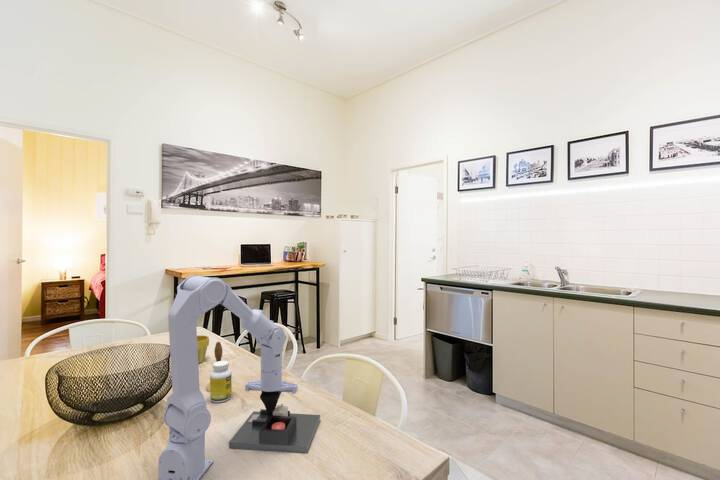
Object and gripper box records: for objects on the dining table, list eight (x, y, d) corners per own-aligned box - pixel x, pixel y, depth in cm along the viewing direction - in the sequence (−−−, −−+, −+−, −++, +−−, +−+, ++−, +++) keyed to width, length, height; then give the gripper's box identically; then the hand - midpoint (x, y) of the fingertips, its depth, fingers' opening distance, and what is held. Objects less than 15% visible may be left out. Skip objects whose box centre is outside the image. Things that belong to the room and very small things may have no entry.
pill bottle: (224, 404, 108) (223, 367, 108) (205, 402, 109) (205, 366, 109) (235, 395, 114) (235, 360, 114) (218, 393, 116) (218, 359, 116)
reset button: (282, 439, 87) (282, 429, 87) (269, 439, 87) (269, 429, 87) (286, 432, 90) (286, 422, 90) (274, 431, 90) (274, 421, 90)
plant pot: (184, 358, 148) (184, 336, 148) (210, 356, 151) (210, 334, 151) (179, 367, 138) (179, 343, 138) (207, 364, 141) (207, 341, 141)
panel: (307, 453, 84) (307, 433, 84) (229, 447, 86) (228, 429, 86) (320, 420, 99) (320, 403, 99) (253, 416, 101) (253, 400, 101)
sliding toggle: (283, 423, 94) (283, 410, 94) (272, 423, 94) (272, 410, 94) (287, 416, 98) (287, 403, 98) (277, 415, 98) (277, 403, 98)
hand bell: (231, 390, 118) (231, 344, 118) (205, 394, 115) (205, 347, 115) (231, 380, 126) (231, 337, 125) (206, 384, 123) (206, 339, 122)
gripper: (300, 364, 99) (300, 410, 100) (252, 362, 101) (252, 408, 101) (293, 374, 92) (293, 424, 92) (241, 371, 94) (241, 421, 94)
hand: (271, 416), depth 96 cm, fingers closed
